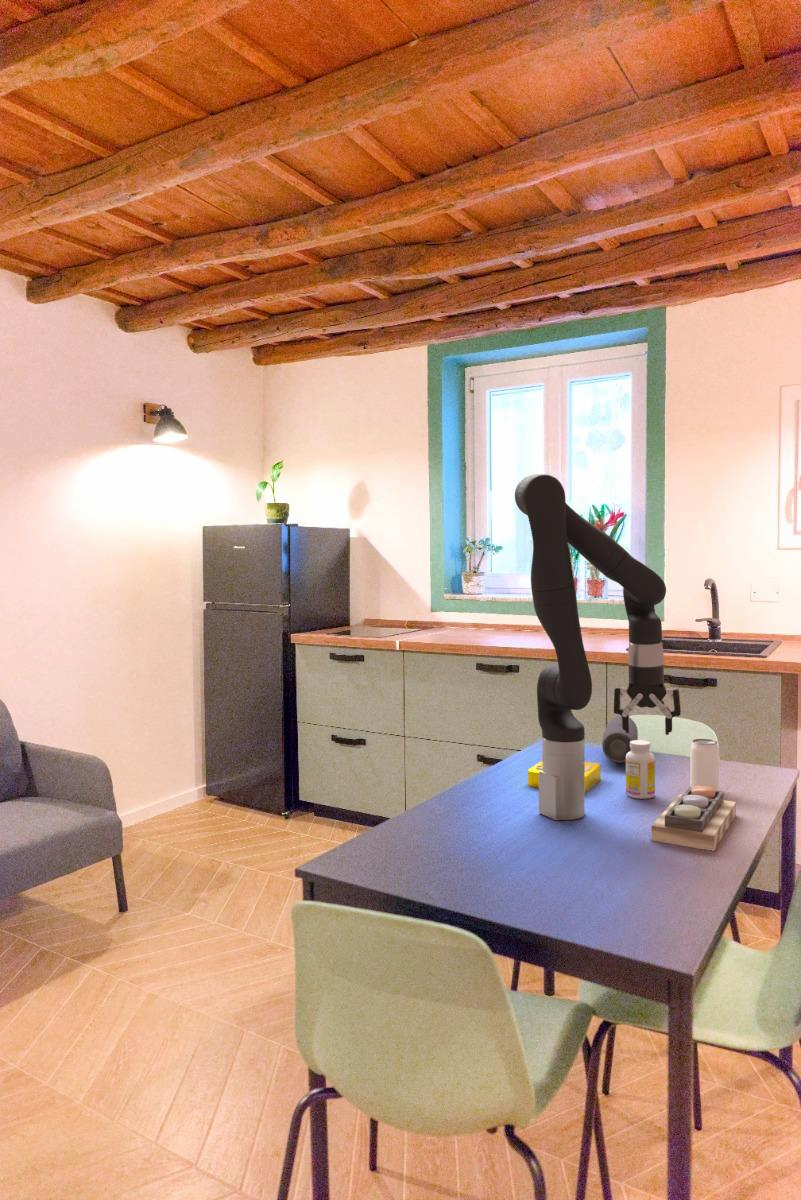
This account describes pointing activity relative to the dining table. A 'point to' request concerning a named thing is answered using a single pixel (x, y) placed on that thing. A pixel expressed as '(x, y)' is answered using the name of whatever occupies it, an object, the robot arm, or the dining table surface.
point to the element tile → (590, 774)
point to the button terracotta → (703, 791)
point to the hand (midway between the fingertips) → (647, 733)
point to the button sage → (687, 811)
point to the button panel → (695, 824)
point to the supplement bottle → (640, 770)
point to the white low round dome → (696, 801)
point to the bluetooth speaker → (618, 739)
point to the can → (704, 763)
